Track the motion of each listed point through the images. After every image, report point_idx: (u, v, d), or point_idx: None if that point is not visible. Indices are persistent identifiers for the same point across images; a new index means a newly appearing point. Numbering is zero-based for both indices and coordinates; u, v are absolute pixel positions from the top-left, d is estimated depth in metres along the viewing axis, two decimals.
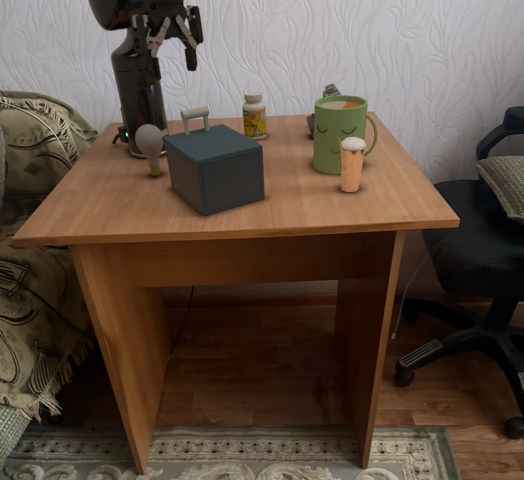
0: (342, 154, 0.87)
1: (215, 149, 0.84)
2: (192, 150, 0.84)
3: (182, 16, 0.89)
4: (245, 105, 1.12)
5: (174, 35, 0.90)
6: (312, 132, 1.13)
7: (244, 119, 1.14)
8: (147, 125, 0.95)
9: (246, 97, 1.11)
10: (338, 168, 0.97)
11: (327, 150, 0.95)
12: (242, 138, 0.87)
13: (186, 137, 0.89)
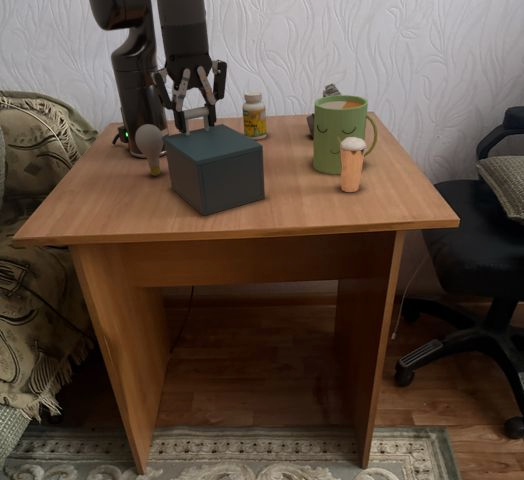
0: (342, 154, 0.87)
1: (215, 149, 0.84)
2: (192, 150, 0.84)
3: (206, 66, 0.84)
4: (245, 105, 1.12)
5: (197, 85, 0.85)
6: (312, 132, 1.13)
7: (244, 119, 1.14)
8: (147, 125, 0.95)
9: (246, 97, 1.11)
10: (338, 168, 0.97)
11: (327, 150, 0.95)
12: (242, 138, 0.87)
13: (186, 137, 0.89)
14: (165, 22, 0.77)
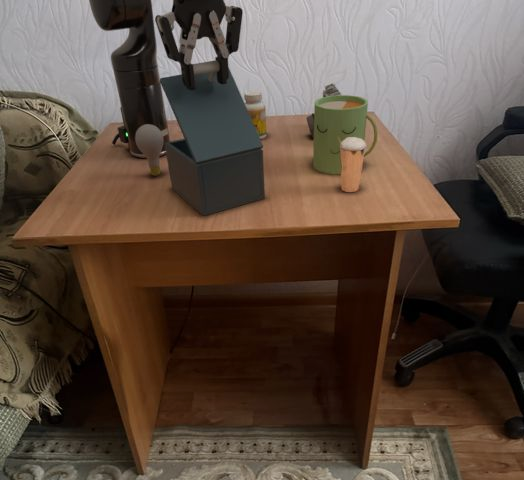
0: (342, 154, 0.87)
1: (217, 139, 0.82)
2: (194, 133, 0.80)
3: (219, 12, 0.74)
4: (245, 105, 1.12)
5: (208, 34, 0.75)
6: (312, 132, 1.13)
7: None
8: (147, 125, 0.95)
9: (246, 97, 1.11)
10: (338, 168, 0.97)
11: (327, 150, 0.95)
12: (245, 119, 0.84)
13: (187, 90, 0.81)
14: None
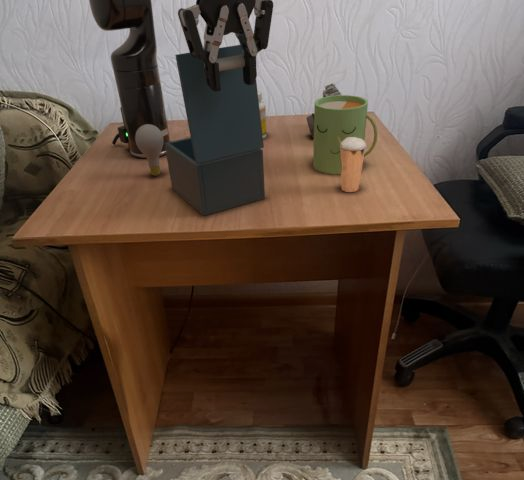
0: (342, 154, 0.87)
1: (221, 137, 0.80)
2: (200, 129, 0.78)
3: (248, 5, 0.67)
4: None
5: (235, 29, 0.68)
6: (312, 132, 1.13)
7: None
8: (147, 125, 0.95)
9: None
10: (338, 168, 0.97)
11: (327, 150, 0.95)
12: (254, 114, 0.81)
13: (203, 74, 0.74)
14: None
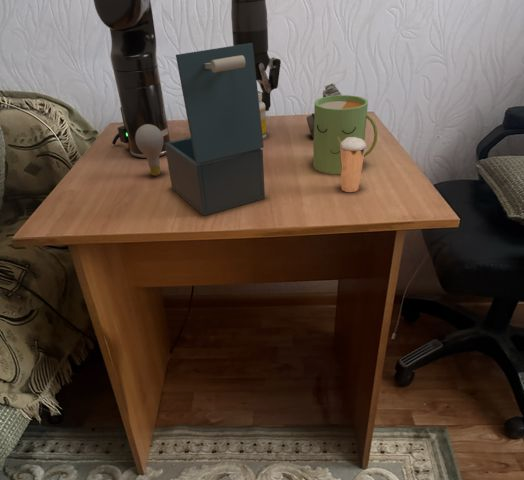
0: (342, 154, 0.87)
1: (222, 138, 0.80)
2: (200, 129, 0.78)
3: (265, 63, 1.08)
4: None
5: (257, 78, 1.09)
6: (312, 132, 1.13)
7: None
8: (147, 125, 0.95)
9: None
10: (338, 168, 0.97)
11: (327, 150, 0.95)
12: (254, 114, 0.81)
13: (203, 74, 0.74)
14: (237, 29, 1.01)
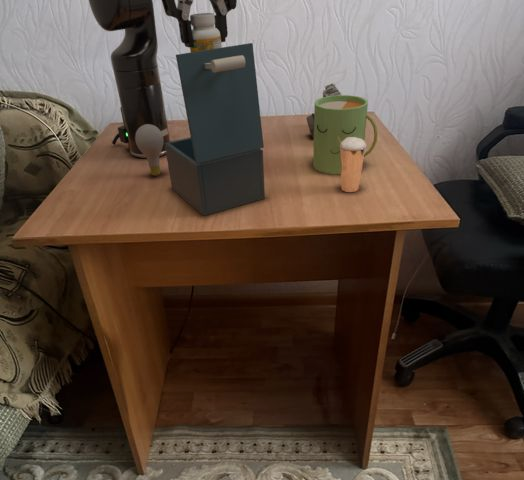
0: (342, 154, 0.87)
1: (222, 138, 0.80)
2: (200, 129, 0.78)
3: None
4: (192, 32, 0.80)
5: None
6: (312, 132, 1.13)
7: None
8: (147, 125, 0.95)
9: (192, 20, 0.79)
10: (338, 168, 0.97)
11: (327, 150, 0.95)
12: (254, 114, 0.81)
13: (203, 74, 0.74)
14: None
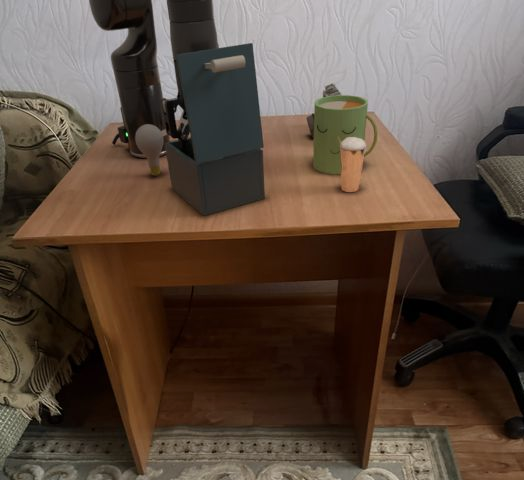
0: (342, 154, 0.87)
1: (222, 138, 0.80)
2: (200, 129, 0.78)
3: None
4: None
5: None
6: (312, 132, 1.13)
7: None
8: (147, 125, 0.95)
9: None
10: (338, 168, 0.97)
11: (327, 150, 0.95)
12: (254, 114, 0.81)
13: (203, 74, 0.74)
14: None
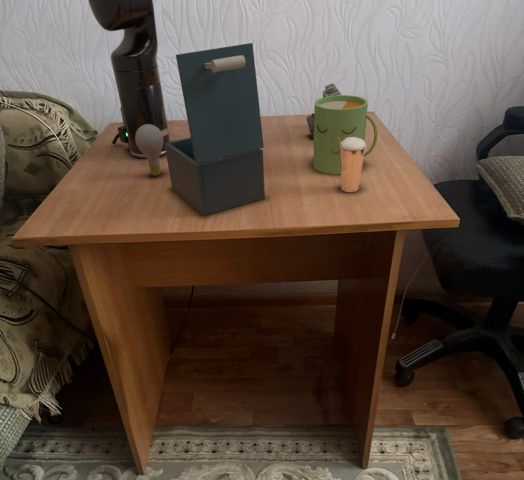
0: (342, 154, 0.87)
1: (222, 138, 0.80)
2: (200, 129, 0.78)
3: None
4: None
5: None
6: (312, 132, 1.13)
7: None
8: (147, 125, 0.95)
9: None
10: (338, 168, 0.97)
11: (327, 150, 0.95)
12: (254, 114, 0.81)
13: (203, 74, 0.74)
14: None
